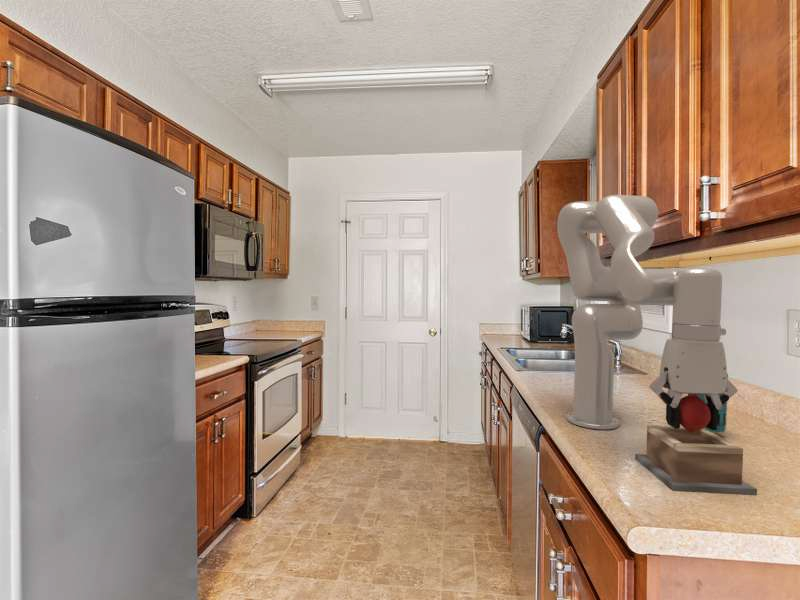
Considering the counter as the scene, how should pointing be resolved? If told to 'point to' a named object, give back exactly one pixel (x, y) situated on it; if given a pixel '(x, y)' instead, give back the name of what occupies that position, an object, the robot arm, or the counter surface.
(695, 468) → the open square box
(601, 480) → the counter surface
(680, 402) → the pomegranate
